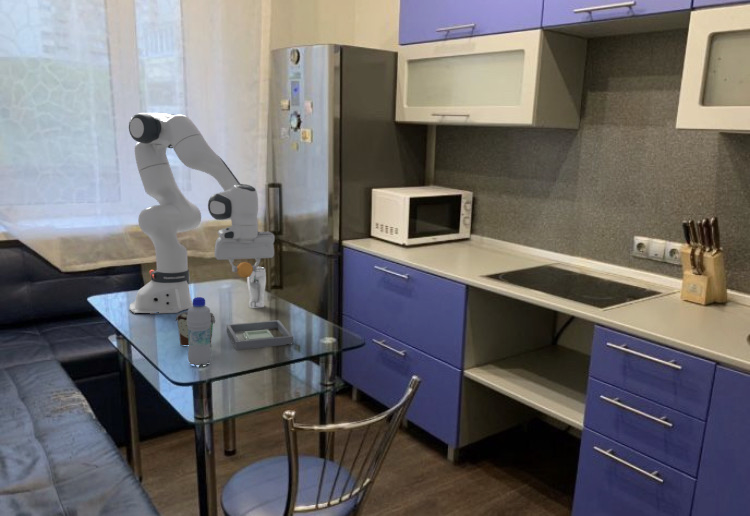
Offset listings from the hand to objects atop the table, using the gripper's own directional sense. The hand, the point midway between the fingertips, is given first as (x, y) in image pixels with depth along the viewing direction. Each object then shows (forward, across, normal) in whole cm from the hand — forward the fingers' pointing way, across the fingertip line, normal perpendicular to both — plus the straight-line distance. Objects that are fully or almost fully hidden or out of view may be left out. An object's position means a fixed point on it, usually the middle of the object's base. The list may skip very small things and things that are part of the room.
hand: (244, 271), depth 205 cm
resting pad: (+18, -1, +18) cm, 26 cm away
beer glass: (+19, -8, -18) cm, 27 cm away
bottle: (+19, +20, +36) cm, 45 cm away
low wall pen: (+18, -1, +18) cm, 26 cm away
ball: (0, 0, 0) cm, 0 cm away
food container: (+19, +18, +18) cm, 32 cm away
